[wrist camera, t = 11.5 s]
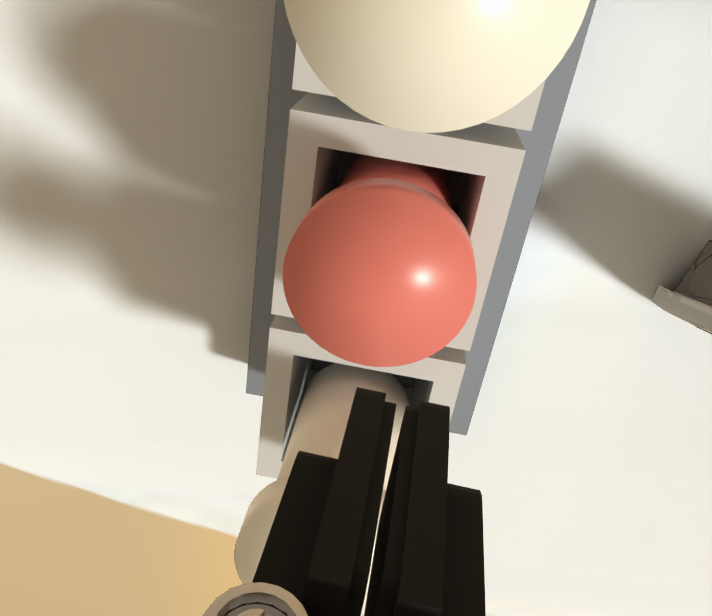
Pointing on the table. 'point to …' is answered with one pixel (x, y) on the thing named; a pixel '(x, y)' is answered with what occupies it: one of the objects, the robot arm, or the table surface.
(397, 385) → the ivory plunger
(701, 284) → the electrical switch
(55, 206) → the table surface
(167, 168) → the table surface
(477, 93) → the ivory plunger
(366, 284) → the red rounded knob
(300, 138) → the grey compartment rack
